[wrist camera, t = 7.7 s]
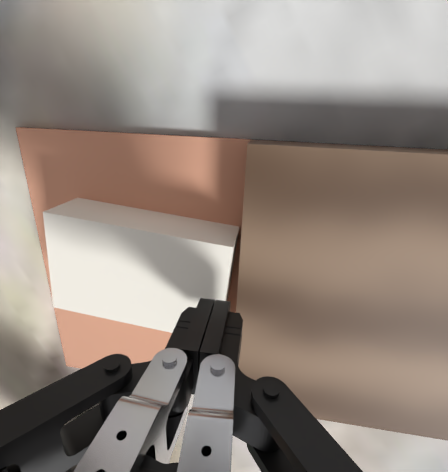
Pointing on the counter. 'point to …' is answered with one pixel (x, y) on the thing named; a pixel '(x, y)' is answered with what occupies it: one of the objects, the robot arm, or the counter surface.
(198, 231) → the cream block
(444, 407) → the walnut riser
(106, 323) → the terracotta mat
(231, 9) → the counter surface
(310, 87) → the counter surface
